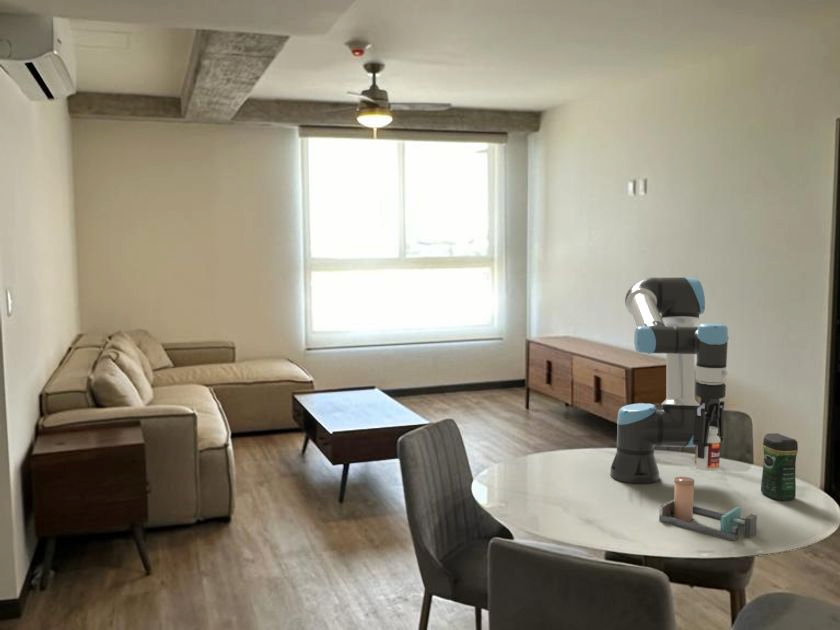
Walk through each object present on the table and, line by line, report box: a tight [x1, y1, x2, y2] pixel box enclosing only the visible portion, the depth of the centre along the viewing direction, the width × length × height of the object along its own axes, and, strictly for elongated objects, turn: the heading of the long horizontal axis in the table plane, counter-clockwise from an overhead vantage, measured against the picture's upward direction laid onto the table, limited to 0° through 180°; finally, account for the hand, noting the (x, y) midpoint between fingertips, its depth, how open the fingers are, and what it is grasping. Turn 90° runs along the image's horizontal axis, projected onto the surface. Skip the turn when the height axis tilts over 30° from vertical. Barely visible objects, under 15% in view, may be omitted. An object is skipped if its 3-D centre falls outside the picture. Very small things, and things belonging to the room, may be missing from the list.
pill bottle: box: [694, 426, 721, 472], centre depth 208 cm, size 6×6×11 cm
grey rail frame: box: [658, 498, 746, 542], centre depth 210 cm, size 20×14×4 cm, turn 46°
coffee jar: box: [760, 432, 799, 501], centre depth 232 cm, size 10×8×19 cm
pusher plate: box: [719, 506, 758, 539], centre depth 203 cm, size 6×11×5 cm, turn 136°
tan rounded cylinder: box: [673, 476, 695, 522], centre depth 214 cm, size 5×5×11 cm
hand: (707, 466), depth 209 cm, fingers closed on pill bottle, 6 cm apart
